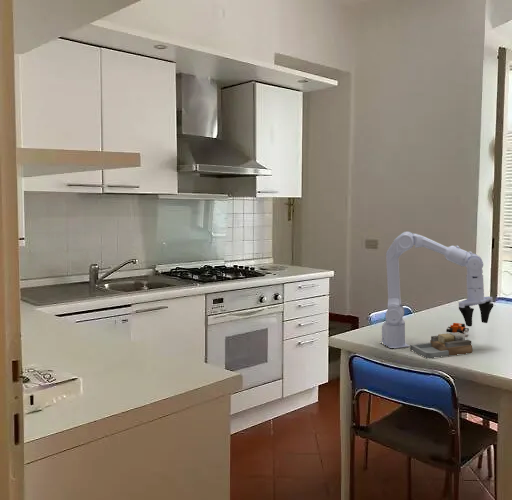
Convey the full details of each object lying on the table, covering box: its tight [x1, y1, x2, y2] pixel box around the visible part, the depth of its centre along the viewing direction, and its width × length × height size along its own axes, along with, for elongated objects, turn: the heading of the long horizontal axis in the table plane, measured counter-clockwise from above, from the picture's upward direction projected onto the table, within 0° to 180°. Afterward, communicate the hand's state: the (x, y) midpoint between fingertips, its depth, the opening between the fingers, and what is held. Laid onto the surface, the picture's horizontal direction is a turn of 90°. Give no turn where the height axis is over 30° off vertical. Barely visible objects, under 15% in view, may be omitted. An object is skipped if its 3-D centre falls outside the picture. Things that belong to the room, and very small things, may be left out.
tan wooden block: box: [437, 332, 454, 345], centre depth 205 cm, size 4×4×3 cm
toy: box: [445, 322, 470, 334], centre depth 226 cm, size 8×6×15 cm
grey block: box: [448, 332, 466, 341], centre depth 206 cm, size 4×4×3 cm
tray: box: [409, 342, 450, 359], centre depth 204 cm, size 12×8×2 cm
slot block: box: [429, 335, 473, 356], centre depth 206 cm, size 12×10×4 cm
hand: (476, 324), depth 205 cm, fingers open, 7 cm apart
